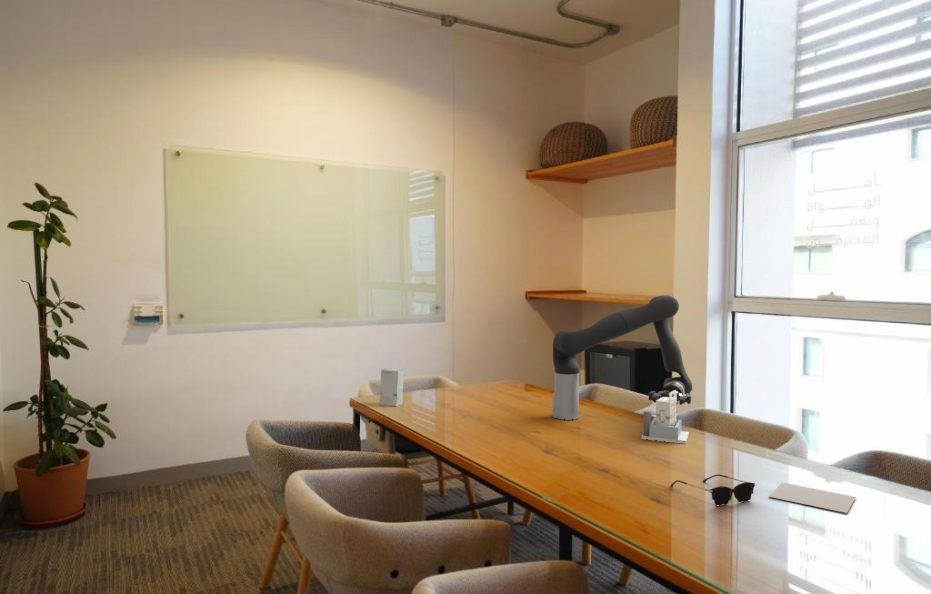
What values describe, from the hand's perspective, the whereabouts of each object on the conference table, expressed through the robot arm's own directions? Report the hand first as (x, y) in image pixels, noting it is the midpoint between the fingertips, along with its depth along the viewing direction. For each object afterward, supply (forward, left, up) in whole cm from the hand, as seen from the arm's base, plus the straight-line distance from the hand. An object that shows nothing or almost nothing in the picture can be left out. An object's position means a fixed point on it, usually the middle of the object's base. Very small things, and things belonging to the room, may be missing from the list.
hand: (667, 400), depth 217 cm
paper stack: (+45, -47, -12) cm, 66 cm away
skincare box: (-110, 0, -12) cm, 111 cm away
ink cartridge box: (0, -4, -11) cm, 11 cm away
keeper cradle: (0, -5, -11) cm, 12 cm away
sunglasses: (+16, -58, -12) cm, 62 cm away
